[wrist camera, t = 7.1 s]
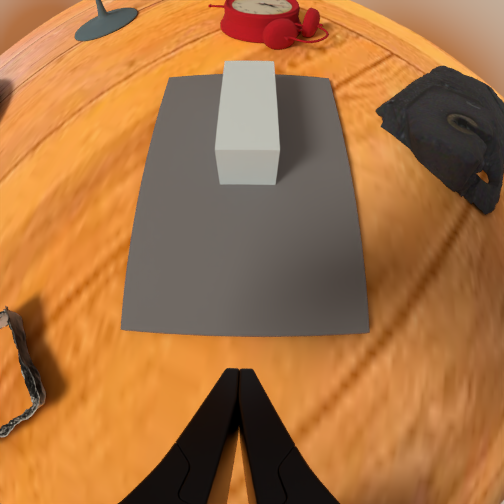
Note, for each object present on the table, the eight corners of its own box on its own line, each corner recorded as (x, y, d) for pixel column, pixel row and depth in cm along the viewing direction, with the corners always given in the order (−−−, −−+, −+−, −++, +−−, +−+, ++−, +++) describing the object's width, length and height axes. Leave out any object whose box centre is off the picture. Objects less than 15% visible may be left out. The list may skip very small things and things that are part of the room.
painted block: (279, 150, 18) (273, 61, 22) (214, 150, 18) (225, 61, 22) (275, 184, 22) (271, 95, 25) (219, 184, 22) (227, 95, 25)
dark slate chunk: (517, 134, 28) (533, 114, 23) (481, 230, 22) (511, 206, 18) (436, 64, 31) (447, 41, 27) (361, 121, 26) (375, 85, 22)
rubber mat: (366, 333, 19) (369, 332, 18) (124, 330, 19) (120, 329, 18) (327, 82, 27) (328, 78, 27) (170, 81, 27) (169, 77, 27)
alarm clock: (253, -15, 31) (345, -5, 25) (260, 20, 37) (346, 38, 30) (196, 4, 29) (289, 10, 22) (207, 43, 34) (295, 62, 27)
